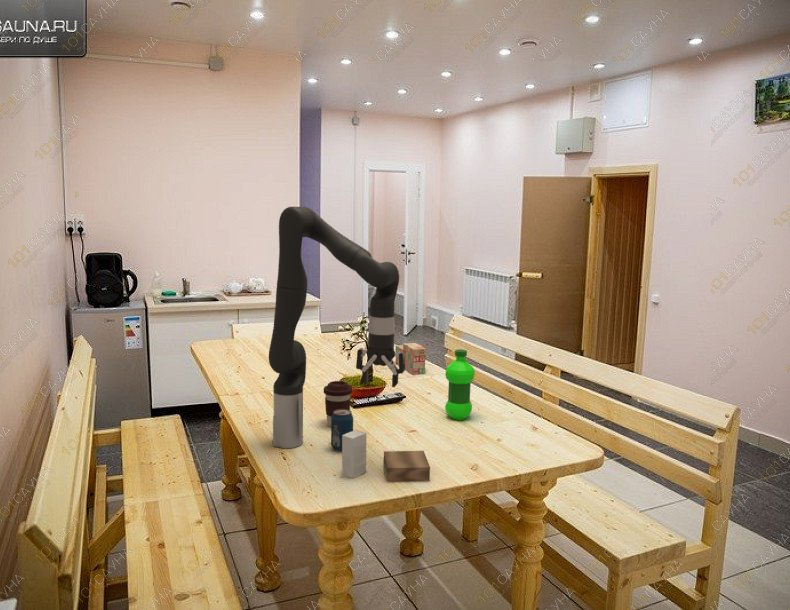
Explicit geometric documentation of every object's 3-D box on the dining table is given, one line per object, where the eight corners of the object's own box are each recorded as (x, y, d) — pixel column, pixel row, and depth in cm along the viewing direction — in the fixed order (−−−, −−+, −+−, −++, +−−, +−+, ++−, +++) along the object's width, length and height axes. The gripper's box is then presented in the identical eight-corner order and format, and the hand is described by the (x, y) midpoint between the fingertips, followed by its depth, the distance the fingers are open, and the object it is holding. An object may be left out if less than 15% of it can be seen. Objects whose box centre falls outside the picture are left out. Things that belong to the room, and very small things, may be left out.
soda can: (353, 444, 203) (353, 408, 201) (352, 452, 196) (353, 415, 194) (331, 443, 203) (331, 408, 201) (330, 452, 196) (330, 415, 194)
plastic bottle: (474, 414, 234) (477, 348, 230) (469, 423, 224) (472, 355, 220) (447, 411, 237) (450, 346, 233) (441, 420, 227) (444, 352, 223)
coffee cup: (325, 431, 214) (326, 388, 212) (321, 421, 223) (321, 380, 221) (354, 428, 217) (355, 386, 214) (348, 419, 226) (349, 378, 224)
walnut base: (387, 481, 176) (387, 468, 176) (383, 464, 188) (383, 451, 187) (429, 480, 178) (430, 467, 177) (423, 463, 189) (423, 450, 189)
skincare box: (355, 468, 185) (356, 429, 183) (366, 472, 182) (367, 432, 180) (341, 474, 180) (341, 434, 178) (352, 479, 178) (352, 438, 176)
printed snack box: (395, 364, 305) (395, 339, 303) (406, 363, 308) (407, 338, 306) (412, 375, 286) (413, 349, 284) (425, 374, 288) (426, 348, 286)
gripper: (354, 331, 181) (353, 386, 184) (402, 335, 178) (400, 391, 181) (361, 326, 189) (360, 379, 191) (408, 330, 185) (406, 383, 188)
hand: (379, 385), depth 186 cm, fingers open, 8 cm apart
